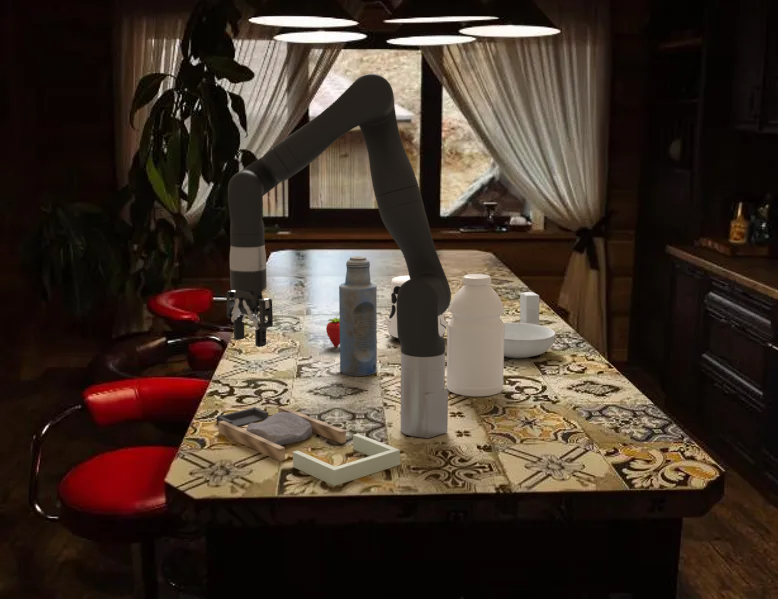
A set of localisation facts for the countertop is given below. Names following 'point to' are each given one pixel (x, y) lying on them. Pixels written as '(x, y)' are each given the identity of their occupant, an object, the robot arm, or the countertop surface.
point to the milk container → (393, 312)
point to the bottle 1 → (358, 319)
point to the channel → (272, 448)
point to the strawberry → (334, 331)
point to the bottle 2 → (475, 339)
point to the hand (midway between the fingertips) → (249, 342)
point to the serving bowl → (526, 340)
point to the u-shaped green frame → (377, 461)
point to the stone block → (282, 428)
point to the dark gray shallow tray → (244, 417)
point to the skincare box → (529, 308)
